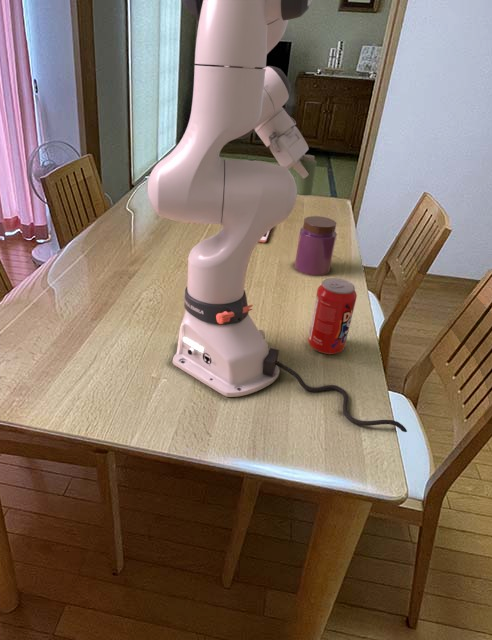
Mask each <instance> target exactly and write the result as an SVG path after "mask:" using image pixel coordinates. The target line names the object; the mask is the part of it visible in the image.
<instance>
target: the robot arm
mask: <svg viewBox="0 0 492 640" xmlns="http://www.w3.org/2000/svg"><path fill="white" fill-rule="evenodd" d="M312 1H313V0H181V2H182V4H183V6H184V7H185V8H186V9H187V11H188V12H189V13H190V14H192V15H194V17H195V20H196V21H197V22H198V25H197V26H198V27H197V33H196V40H195V51H194V70H193V75H194V76H193V89H192V90H193V91H192V100H191V101H192V102H191V110H190V116H189V120H188V123H187V127H186V128H185V132H184V133H183V136H181V137H182V138H181V139H180V140H179V142H178V144H176V146H175V148H173V150H172V151H171V152H170V153H169V154H168V155H166V156H165V157H164V158H163V159H161V160H159V162H157V164H156V165H154V168H153V169H152V170H151V172H150V175H149V177H148V180H147V190H146V191H147V197H148V201H149V204H150V206H151V208H152V209H153V211H154V212H155V214H156V215H157V216H159V217H160V218H164V219H168V220H172V221H176V222H180V223H187V224H207V225H208V224H211V225H220V226H222V227H221V229H220V230H219V231H218V232H216V233H215V234H213V235H211V236H208V237H207V238H204V239H203V240H201V241H199V242H198V243H197V244H196V245H194V246H192V247H193V248H191V250H190V252H189V254H188V258H187V281H186V282H187V284H186V287H185V289H184V295H183V301H184V302H183V303H184V305H183V306H184V309H185V312H184V314H183V318H182V321H181V324H180V326H179V333H178V340H177V341H178V342H177V347H176V352H175V354H174V356H173V358H172V365H173V366H175V367H176V368H178V369H180V370H181V371H183V372H185V373H186V374H188V375H190V377H193V378H195V379H196V380H198V381H199V382H200V383H202V384H204V385H205V386H207V387H209V388H211V389H213V390H214V391H215V392H217V393H219V394H220V395H222V396H224V397H227V398H234V397H235V398H237V397H244V396H247V395H250V394H253V393H256V392H258V391H261V390H263V389H265V388H267V387H268V386H270V385H271V384H273V383H274V382H275V381H276V380H277V379H278V378H279V376H280V369H282V370H283V371H286V372H287V373H289V374H290V375H292V376H293V377H294V378H295V379H296V380H297V382H298V383H299V385H300V386H301V387H302V388H303V389H304V390H306V391H309V392H312V393H319V392H324V391H328V390H335V391H337V392H339V393H341V395H342V397H343V400H342V413H343V415H344V417H345V419H347V420H348V421H350V422H351V423H353V424H355V425H358V426H366V427H367V426H368V427H369V426H371V427H372V426H380V425H381V426H382V425H391V426H394V427H396V428H397V429H399V430H400V431H401V432H403V433H407V432H408V430H407V428H406V427H405V426H404V425H403V424H402V423H400V422H399V421H396V420H394V419H376V420H362V419H361V420H360V419H357V418H354V417H352V415H351V414H350V413H349V411H348V404H349V403H348V402H349V397H348V396H349V395H348V393H347V391H345V389H343V388H342V387H340V386H339V385H335V384H328V385H323V386H318V387H313V386H312V387H311V386H309V385H308V384H306V382H305V381H304V379H303V378H302V377H301V376H300V375H299V373H297V372H296V371H295V370H293V369H292V368H291V367H289V366H287V365H285V364H283V362H280V361H278V360H279V354H280V349H279V348H278V349H277V348H273V347H270V348H269V345H268V343H267V341H266V335H265V332H264V330H262V329H259V328H258V327H257V325H256V323H255V322H254V320H253V319H252V318H251V316H250V313H249V312H251V311H252V310H253V308H252V307H253V306H254V304H249V305H248V297H247V293H246V291H245V285H246V279H247V278H246V277H247V271H248V267H249V261H250V258H251V256H252V254H253V251H254V250H255V247H256V246H257V245H258V243H260V242H259V240H260V239H261V238H262V237H263V236H264V235H265V234H266V233H267V232H268V231H269V230H270V231H271V230H272V229H273V228H274V227H276V226H277V225H280V224H282V223H283V222H284V221H285V220H286V219H287V218H288V217H289V216H290V215H291V213H292V212H293V210H294V207H295V205H296V202H297V195H298V194H297V188H296V180H295V178H294V176H293V174H292V173H291V171H290V169H291V168H292V169H293V170H294V171H295V172H296V173H297V174H298V173H299V174H300V175H301V177H302V178H306V177H307V176H308V175H309V172H308V170H307V169H305V168H304V166H303V165H302V164H301V162H300V159H303V155H306V153H307V152H308V151H309V150H310V149H309V145H308V143H307V141H306V140H305V137H304V136H303V135H302V133H301V131H300V130H299V128H298V127H297V126H296V125H297V122H296V120H295V119H294V118H293V117H292V116H290V115H289V114H288V113H287V111H286V109H285V108H284V107H283V106H284V105H285V104H287V102H288V100H289V99H290V96H291V89H292V86H291V82H290V80H289V78H288V76H287V75H286V74H285V72H284V71H283V70H282V69H281V68H279V67H276V66H272V65H267V56H268V54H269V53H270V52H271V51H272V50H273V49H275V47H276V46H277V45H278V43H279V42H280V41H281V40H282V39H283V37H284V35H285V33H286V30H287V27H288V25H289V24H288V23H289V20H294V19H297V18H301V17H302V16H303V15H304V14H305V13H306V12H307V11H308V10H309V8H310V5H311V3H312ZM254 132H255V133H256V134H257V136H258V137H259V138H260V140H261V142H263V144H264V146H265V147H266V148H269V150H270V152H271V154H272V155H273V157H274V158H275V160H276V161H277V163H278V164H276V163H271V162H268V161H263V160H249V159H231V158H229V159H227V158H224V157H223V158H222V157H221V156H220V153H221V151H222V149H223V148H224V146H226V145H227V144H228V143H229V142H232V141H234V140H236V139H237V140H246V139H248V138H249V136H251V134H253V133H254Z"/></svg>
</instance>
